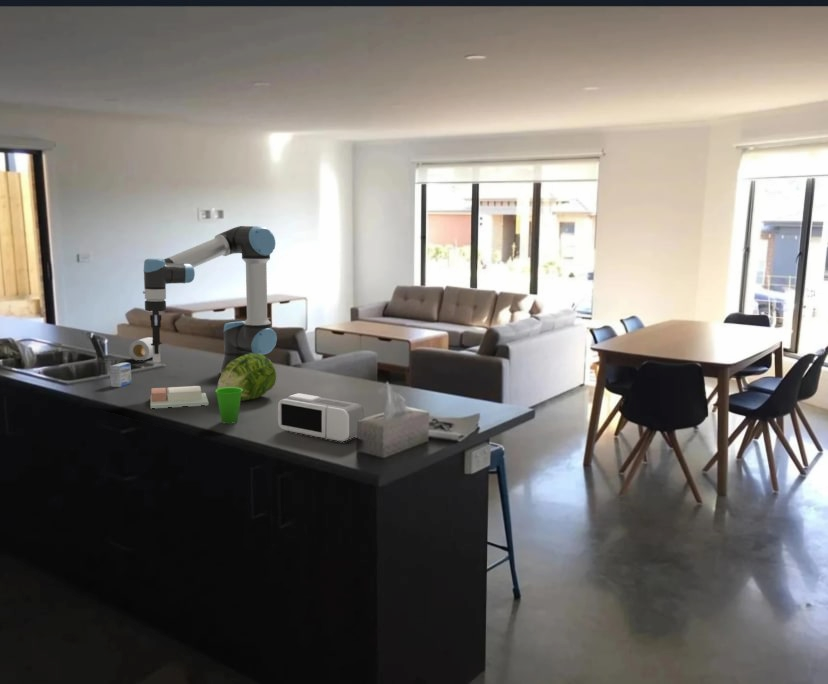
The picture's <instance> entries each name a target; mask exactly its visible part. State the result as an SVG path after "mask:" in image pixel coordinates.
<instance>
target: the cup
mask: <svg viewBox="0 0 828 684" xmlns="http://www.w3.org/2000/svg"><path fill="white" fill-rule="evenodd" d="M242 391H243V389H241V388H237V387H224V388H219V389H218V388H216V389H215V391H214V392H215V393H216V398H217V399H216V400H217V404H218V409H219V413H220V421H221V423H222V422H225V423H232V422H236V421H237V422H238V420H239V414H240V413H239V412H240V405H241V401H240V400H241V393H242ZM237 422H236V423H237ZM225 423H224V424H225ZM232 424H233V423H232Z"/></svg>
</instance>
